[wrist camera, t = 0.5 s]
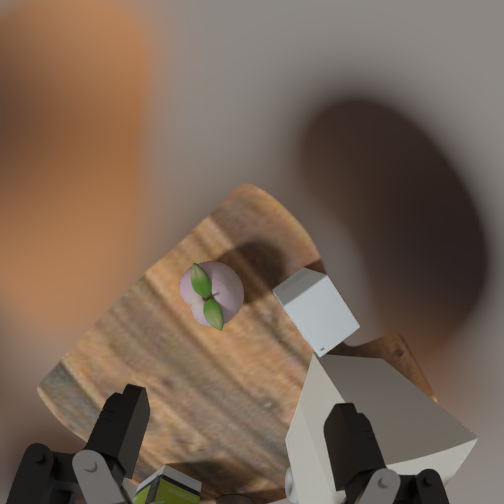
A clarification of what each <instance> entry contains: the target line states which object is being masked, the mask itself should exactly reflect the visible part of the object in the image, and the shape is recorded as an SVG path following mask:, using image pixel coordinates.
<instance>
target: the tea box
mask: <svg viewBox="0 0 504 504" xmlns="http://www.w3.org/2000/svg"><path fill="white" fill-rule="evenodd" d="M201 486H202V483H201V482H200V481H198V480H196V479H193V478H191V477H189V476H187V475H185V474H184V473H182V472H180V471H178V470H176V469H174V468H172V467H170V466H168V465H166V464H165V465H164V466H163V467H161V468H160V469H159V470H158V471H156V472H155V473H154V474H153V475H151V476H150V477H149V478H147V479H146V480H145V481H143V482H142V483H141V484H139V486H138V489H137V492H136V495H135V497H134V500H133V504H199V501H200V493H201Z"/></svg>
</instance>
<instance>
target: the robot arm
mask: <svg viewBox="0 0 504 504" xmlns="http://www.w3.org/2000/svg"><path fill="white" fill-rule="evenodd" d="M149 416H150V406H149V402H148V397H147V392H146V388H145V387H140V386H136V385H132V384H127V385H126V387H125V389H124V391H123V394H120V393H116V392H115V393H114V394H113V395H111V396H110V397H109V398H108V399H107V400H106V402H105V404H104V406H103V409H102V411H101V413H100V415H99V419H98V420H97V422H96V424H95V426H94V428H93V431H92V433H91V435H90V438H89V440H88V442H87V444H86V446H85V448H84V449H83V450H82V451H80V452H78V453H74V454H67V453H60V452H53V451H51V450H50V449H49V448H48V447H47V446H45V445H43V444H39V443H34V444H31V445H30V446H28V448H27V449H26V451H25V453H24V456H23V458H22V460H21V463H20V466H19V468H18V471H17V473H16V476H15V479H14V481H13V484H12V487H11V490H10V493H9V496H8V499H7V503H6V504H75V500H76V496H77V494H83V495H84V497H85V500H86V501H87V504H133V502H132V500H131V499H130V497H129V495H128V493H127V491H126V489H125V488H124V486H123V484H122V483H123V479H124V477H125V478H128V479H132V476H133V472H134V468H135V465H136V461H137V458H138V454H139V451H140V447H141V444H142V441H143V437H144V434H145V431H146V427H147V424H148V421H149ZM323 433H324V438H325V442H326V447H327V451H328V456H329V460H330V465H331V469H332V474H333V479H334V484H335V489H336V492H337V491H343V490H345V494H346V497H345V498H344V500H343V502H342V503H341V504H449V501H448V498H447V495H446V492H445V489H444V486H443V483H442V480H441V477H440V475H439V473H438V472H437V471H436V470H434V469H424V470H422V471H421V472H420V473H418V474H417V475H400V474H397V473H396V472H395V471H394V470H392V469H388V468H387V466H386V465H385V462H384V459H383V456H382V453H381V451H380V448H379V445H378V442H377V439H375V434H374V432H373V429H372V426H371V423H370V421H369V419H368V418H367V417H366V416H365V415H364V414H363V413H357V410H356V408H355V405H354V404H353V403H352V402H349V403H336V404H335V405H334V406H333V408H332V410H331V412H330V414H329V415H328V417H327V419H326V421H325V423H324V427H323ZM216 504H254V502H253V500H252V499H250V498H248V497H246V496H242V495H225V496H222V497H220V498H218V499H217V501H216Z"/></svg>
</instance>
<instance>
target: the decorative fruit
mask: <svg viewBox="0 0 504 504" xmlns="http://www.w3.org/2000/svg"><path fill="white" fill-rule="evenodd" d="M179 290H180V294H181V296H182V298H183V300H184V301H185V302H186V303H188V304H189V305H191V307H192V313H193V315H194V317H195V319H196V320H197V321H198V322H199V323H200V324H202V325H204V326H208V327H214V328H216V329H218V330H220V331H222V328H223V324H225V323H227V322H228V321H230V320H231V319H232V318H233V317H234V316H235V315H236V314H237V313H238V312H239V310H240V309H241V307H242V304H243V301H244V290H243V285H242V282H241V280H240V278H239V276H238V275H237V273H236V272H235V271H234V270H233V269H232V268H230V267H229V266H227V265H226V264H224V263H221V262H217V261H207V262H203V263H199V264H196V263H193V266H192V267H191V268H189V269H188V270H187V271H186V272H185V273H184V274H183V276H182V278H181V279H180V283H179Z"/></svg>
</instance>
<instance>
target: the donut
mask: <svg viewBox="0 0 504 504" xmlns="http://www.w3.org/2000/svg"><path fill="white" fill-rule="evenodd" d="M285 492H286V496H287V498H288V500H289V501H290V502H293V503H299V502H298V497H297V492H296V488H295V483H294V479H293V474H292V470H291V465H290V466H289V467H288V469H287V472H286V476H285Z"/></svg>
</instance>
